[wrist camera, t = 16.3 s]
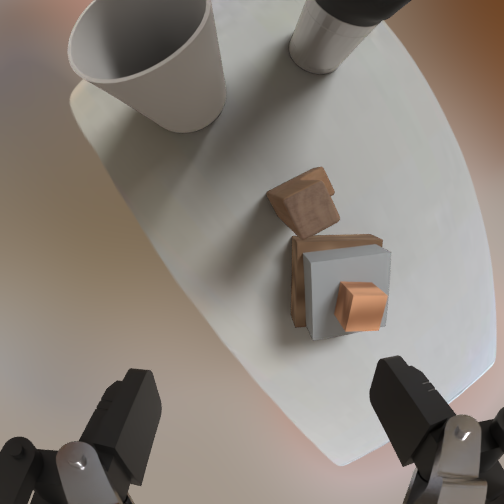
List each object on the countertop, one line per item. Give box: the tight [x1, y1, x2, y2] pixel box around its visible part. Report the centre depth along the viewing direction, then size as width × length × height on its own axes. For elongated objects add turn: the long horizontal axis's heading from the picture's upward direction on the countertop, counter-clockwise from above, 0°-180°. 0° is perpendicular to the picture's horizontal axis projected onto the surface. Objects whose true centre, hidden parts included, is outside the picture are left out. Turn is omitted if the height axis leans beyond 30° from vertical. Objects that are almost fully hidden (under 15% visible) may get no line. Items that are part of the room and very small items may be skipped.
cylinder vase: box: [68, 0, 227, 133], centre depth 26 cm, size 12×12×25 cm
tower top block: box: [303, 244, 391, 341], centre depth 39 cm, size 12×12×5 cm
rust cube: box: [334, 281, 388, 332], centre depth 34 cm, size 5×5×5 cm
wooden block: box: [266, 167, 340, 240], centre depth 34 cm, size 9×4×18 cm, turn 118°
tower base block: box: [291, 234, 383, 328], centre depth 44 cm, size 14×14×5 cm
